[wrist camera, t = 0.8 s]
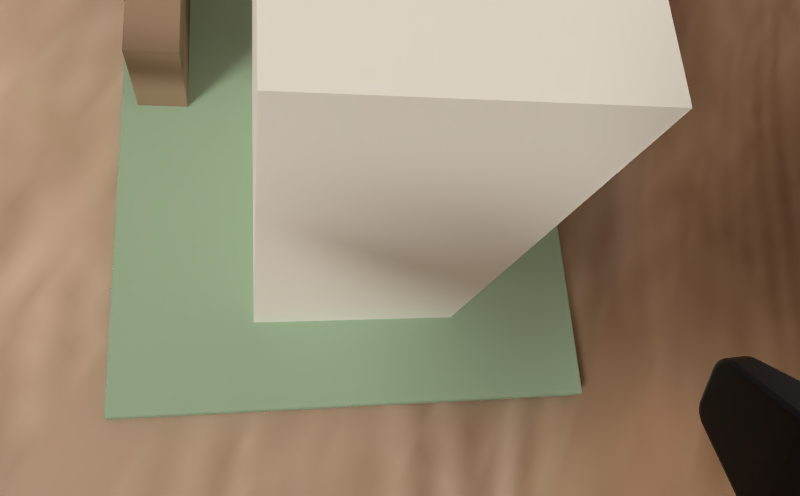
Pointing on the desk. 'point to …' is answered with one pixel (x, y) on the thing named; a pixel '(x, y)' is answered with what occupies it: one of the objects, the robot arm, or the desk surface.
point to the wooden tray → (157, 50)
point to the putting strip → (233, 280)
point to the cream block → (438, 140)
